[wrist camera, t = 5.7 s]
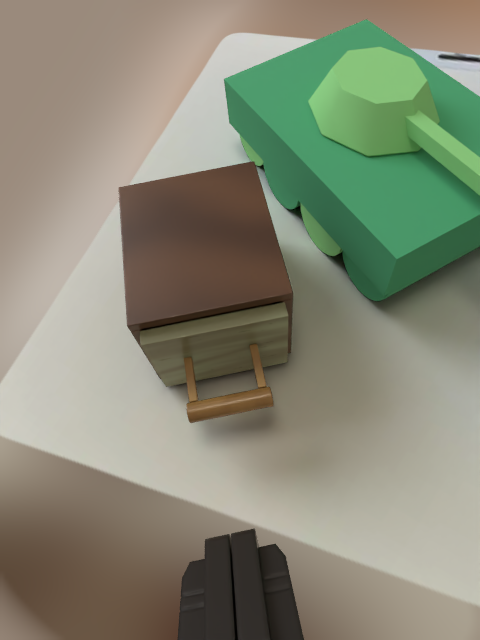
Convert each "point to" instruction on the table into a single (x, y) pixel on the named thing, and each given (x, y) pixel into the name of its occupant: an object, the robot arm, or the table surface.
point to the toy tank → (367, 152)
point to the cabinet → (199, 248)
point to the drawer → (220, 355)
